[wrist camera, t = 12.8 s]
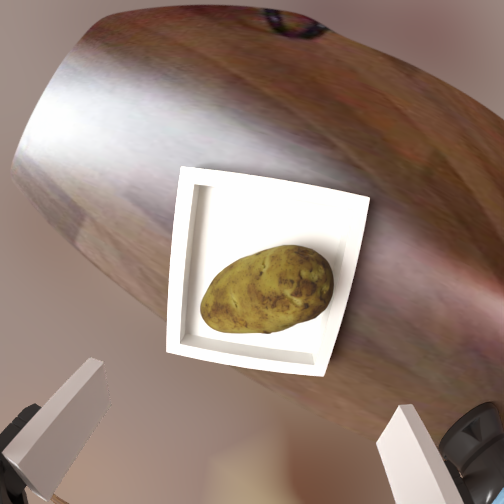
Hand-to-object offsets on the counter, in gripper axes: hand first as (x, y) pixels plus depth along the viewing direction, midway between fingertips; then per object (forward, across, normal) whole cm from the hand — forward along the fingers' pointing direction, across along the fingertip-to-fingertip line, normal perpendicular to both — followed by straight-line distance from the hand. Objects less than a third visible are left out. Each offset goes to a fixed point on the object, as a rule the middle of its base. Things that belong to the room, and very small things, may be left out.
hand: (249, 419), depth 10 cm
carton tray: (+21, 0, 0) cm, 21 cm away
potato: (+20, 0, 0) cm, 20 cm away
